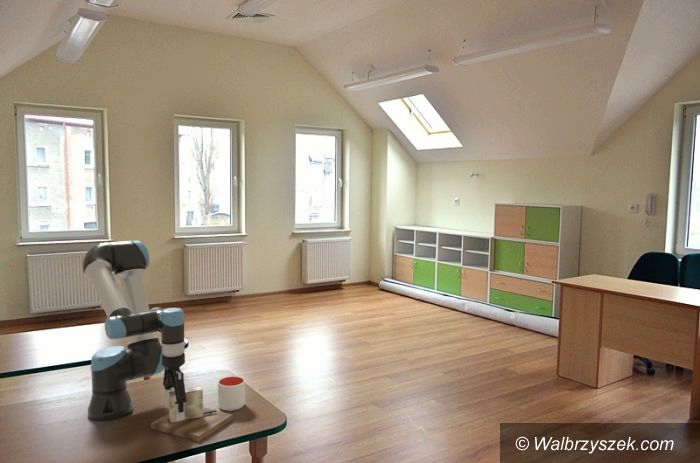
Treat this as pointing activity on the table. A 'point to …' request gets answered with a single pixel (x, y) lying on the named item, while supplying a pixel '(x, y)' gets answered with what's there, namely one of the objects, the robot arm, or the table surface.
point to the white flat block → (189, 404)
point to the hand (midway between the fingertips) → (174, 413)
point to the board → (193, 425)
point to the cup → (231, 393)
